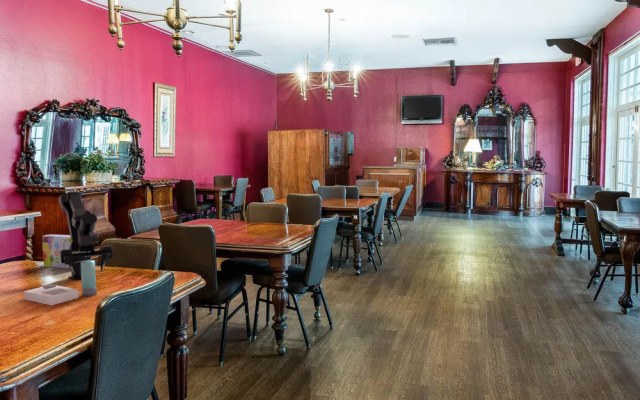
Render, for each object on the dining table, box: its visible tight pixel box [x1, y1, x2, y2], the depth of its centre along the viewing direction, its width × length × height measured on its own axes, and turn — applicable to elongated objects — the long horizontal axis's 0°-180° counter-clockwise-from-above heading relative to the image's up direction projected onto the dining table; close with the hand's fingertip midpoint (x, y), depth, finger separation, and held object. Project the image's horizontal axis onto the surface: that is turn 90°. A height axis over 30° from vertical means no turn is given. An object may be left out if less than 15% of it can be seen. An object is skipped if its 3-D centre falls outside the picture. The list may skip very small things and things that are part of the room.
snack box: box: [41, 233, 71, 270], centre depth 242 cm, size 21×6×15 cm, turn 71°
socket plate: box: [23, 284, 80, 306], centre depth 191 cm, size 16×11×4 cm
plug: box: [80, 259, 98, 298], centre depth 195 cm, size 5×5×13 cm
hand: (88, 272), depth 196 cm, fingers open, 9 cm apart
